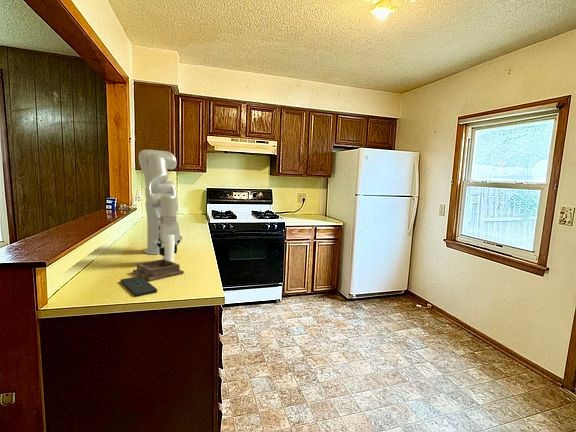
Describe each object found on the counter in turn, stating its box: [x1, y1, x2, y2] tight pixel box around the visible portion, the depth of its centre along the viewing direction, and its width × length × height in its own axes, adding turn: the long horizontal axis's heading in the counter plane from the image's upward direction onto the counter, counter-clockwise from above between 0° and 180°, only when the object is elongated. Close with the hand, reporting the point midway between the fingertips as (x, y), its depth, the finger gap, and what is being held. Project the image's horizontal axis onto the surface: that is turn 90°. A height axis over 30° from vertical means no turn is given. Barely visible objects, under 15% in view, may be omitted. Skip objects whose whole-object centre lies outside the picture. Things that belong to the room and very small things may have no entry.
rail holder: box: [132, 258, 185, 282], centre depth 141 cm, size 16×16×4 cm
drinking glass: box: [161, 234, 175, 263], centre depth 157 cm, size 7×7×15 cm
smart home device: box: [119, 275, 158, 298], centre depth 123 cm, size 8×2×20 cm
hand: (168, 253), depth 158 cm, fingers closed on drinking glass, 6 cm apart
